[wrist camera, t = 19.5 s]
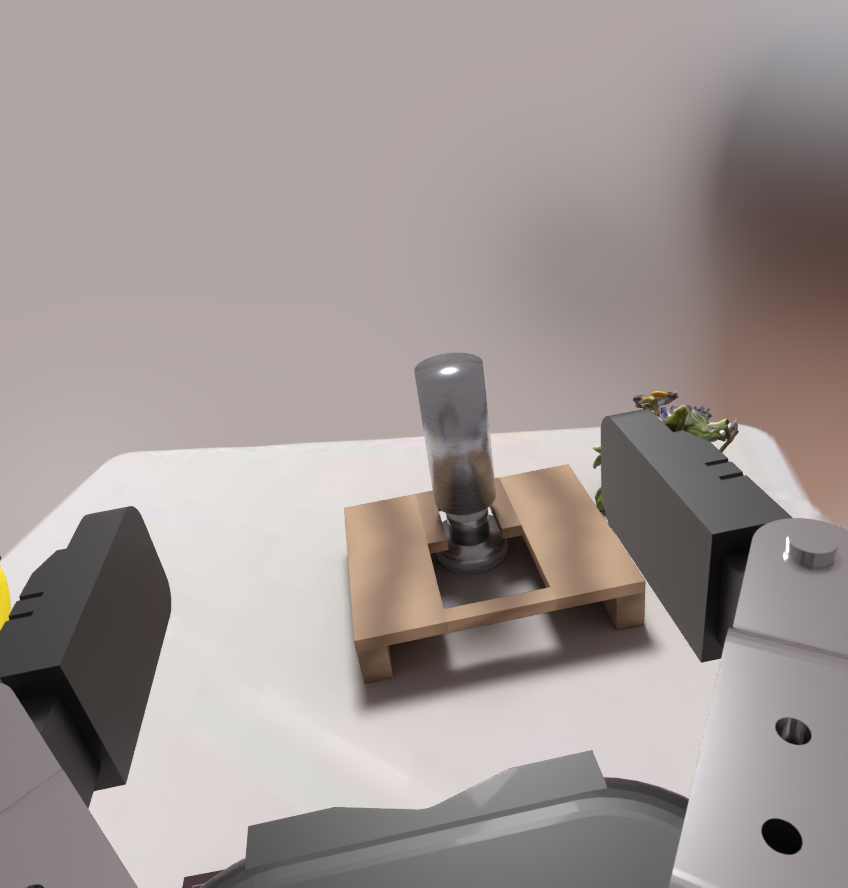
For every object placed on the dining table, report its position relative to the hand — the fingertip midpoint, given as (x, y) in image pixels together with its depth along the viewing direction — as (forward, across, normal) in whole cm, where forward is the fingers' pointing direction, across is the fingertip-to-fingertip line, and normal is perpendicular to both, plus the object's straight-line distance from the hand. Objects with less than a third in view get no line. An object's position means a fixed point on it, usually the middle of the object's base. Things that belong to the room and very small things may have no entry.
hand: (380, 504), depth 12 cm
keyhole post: (+36, -6, +30) cm, 47 cm away
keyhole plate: (+32, -6, +30) cm, 44 cm away
